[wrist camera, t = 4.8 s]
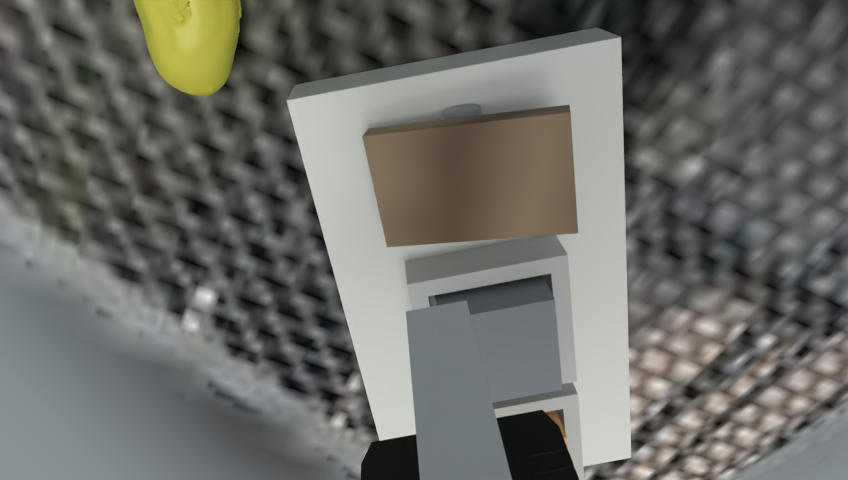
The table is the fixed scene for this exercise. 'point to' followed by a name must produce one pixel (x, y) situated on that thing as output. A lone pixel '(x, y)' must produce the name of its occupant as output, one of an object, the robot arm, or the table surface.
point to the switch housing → (486, 259)
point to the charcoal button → (514, 336)
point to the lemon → (191, 41)
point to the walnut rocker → (475, 177)
